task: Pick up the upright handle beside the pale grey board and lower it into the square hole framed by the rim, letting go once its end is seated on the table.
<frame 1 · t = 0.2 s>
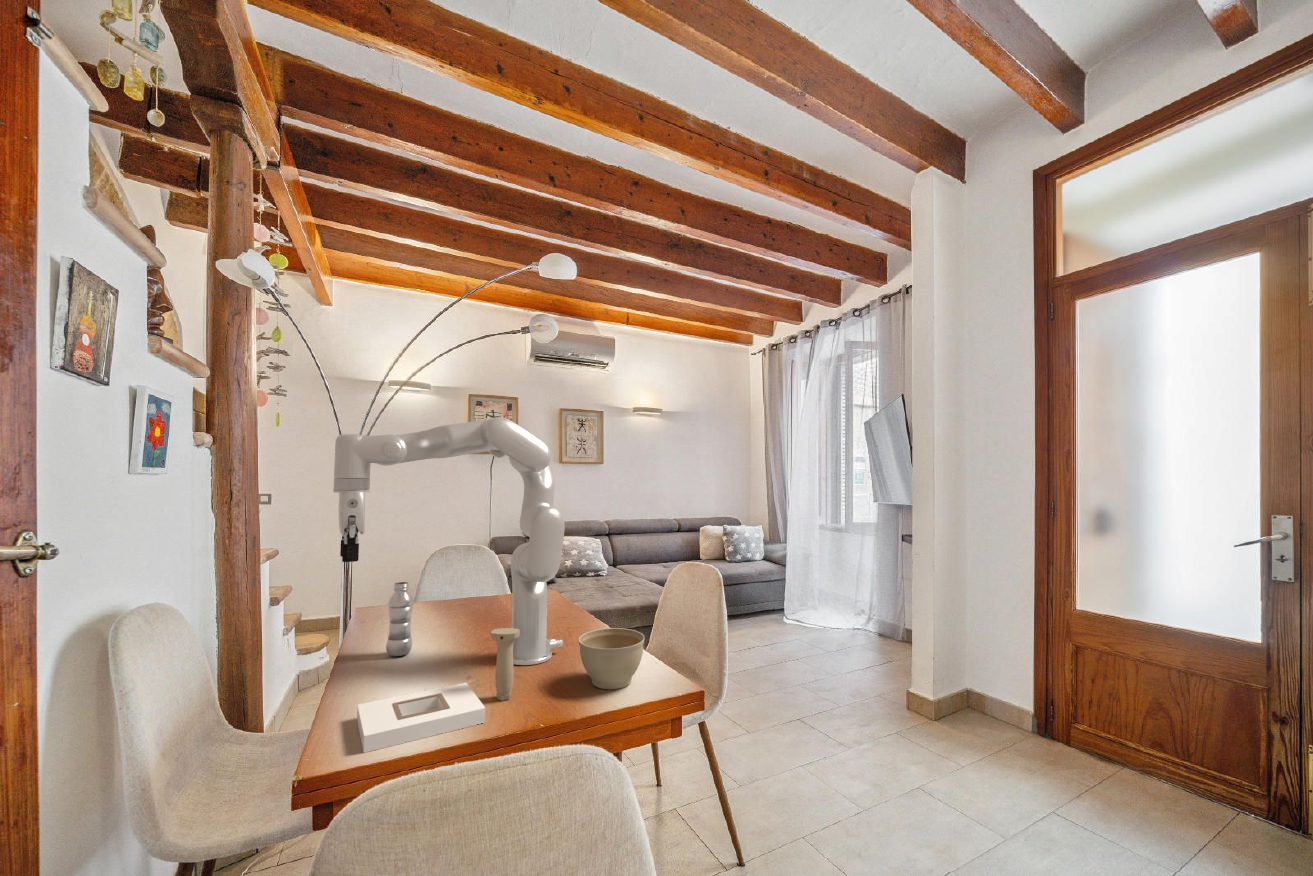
hand: (349, 558, 127), 31 cm above the table, tool pointing down, fingers open, 9 cm apart
handle: (504, 699, 122), on the table
planter bowl: (611, 683, 132), on the table
socket board: (420, 721, 111), on the table
plastic bottle: (398, 656, 151), on the table
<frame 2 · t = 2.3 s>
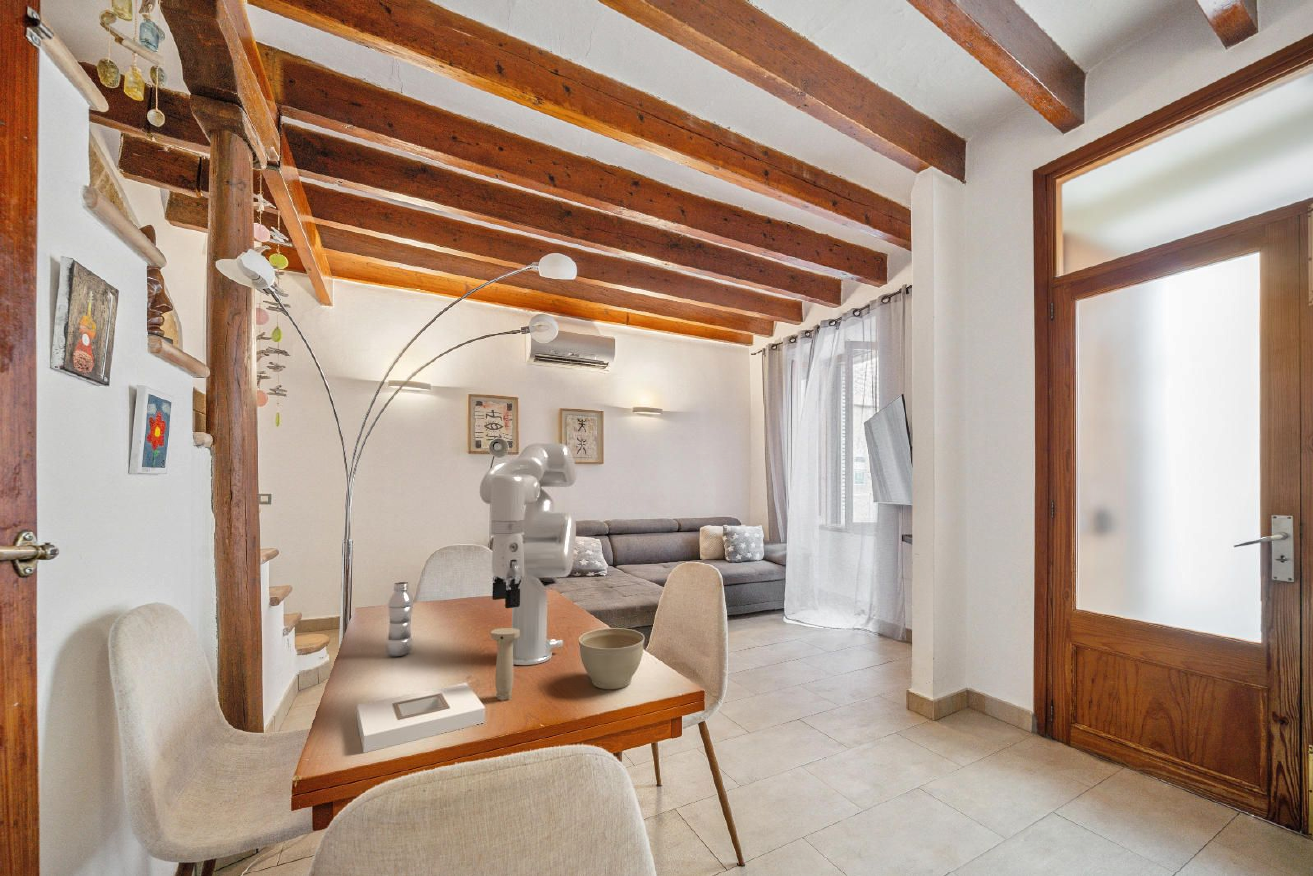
hand: (505, 603, 124), 21 cm above the table, tool pointing down, fingers open, 9 cm apart
nothing on the table moved.
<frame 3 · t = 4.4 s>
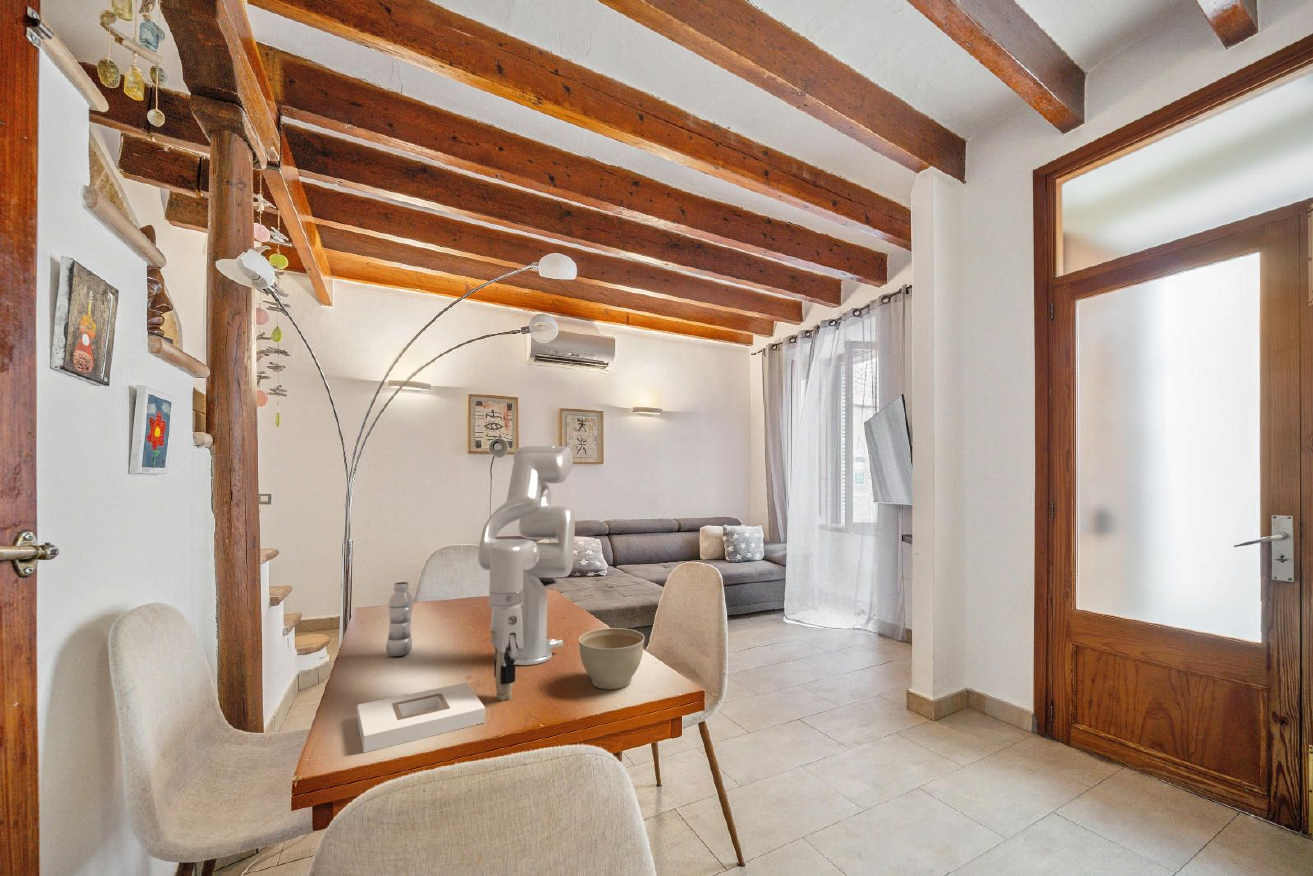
hand: (504, 679, 123), 4 cm above the table, tool pointing down, fingers closed on handle, 4 cm apart
handle: (504, 699, 122), on the table, touching gripper
everything else where it was.
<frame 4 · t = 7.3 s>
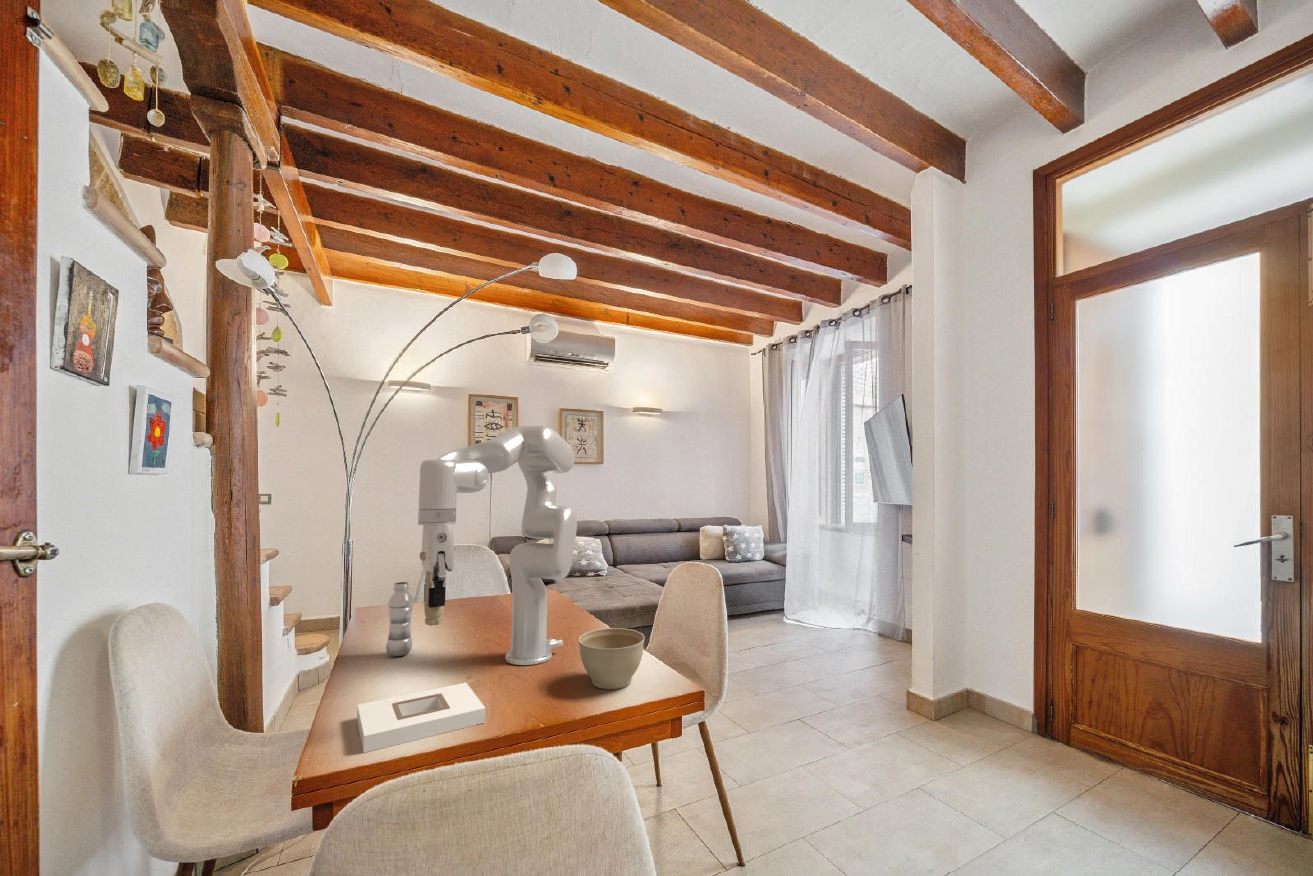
hand: (434, 603, 114), 24 cm above the table, tool pointing down, fingers closed on handle, 4 cm apart
handle: (433, 625, 113), point 19 cm above the table, touching gripper
everything else where it was.
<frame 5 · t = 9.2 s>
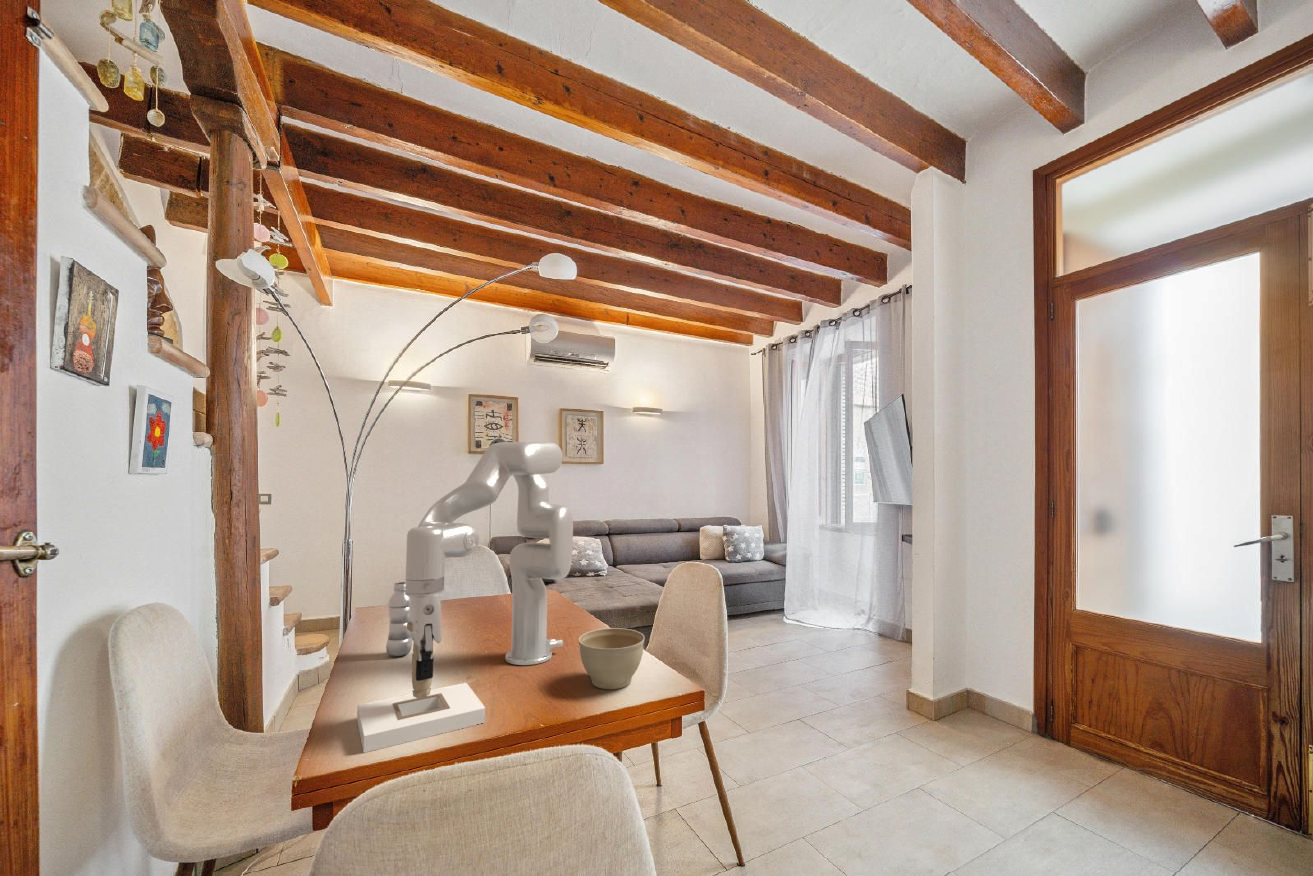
hand: (422, 674, 112), 9 cm above the table, tool pointing down, fingers closed on handle, 4 cm apart
handle: (421, 696, 111), point 5 cm above the table, touching gripper
everything else where it was.
when the fingers open (5 cm above the table, at t = 10.5 s): handle stays where it is, resting in socket board.
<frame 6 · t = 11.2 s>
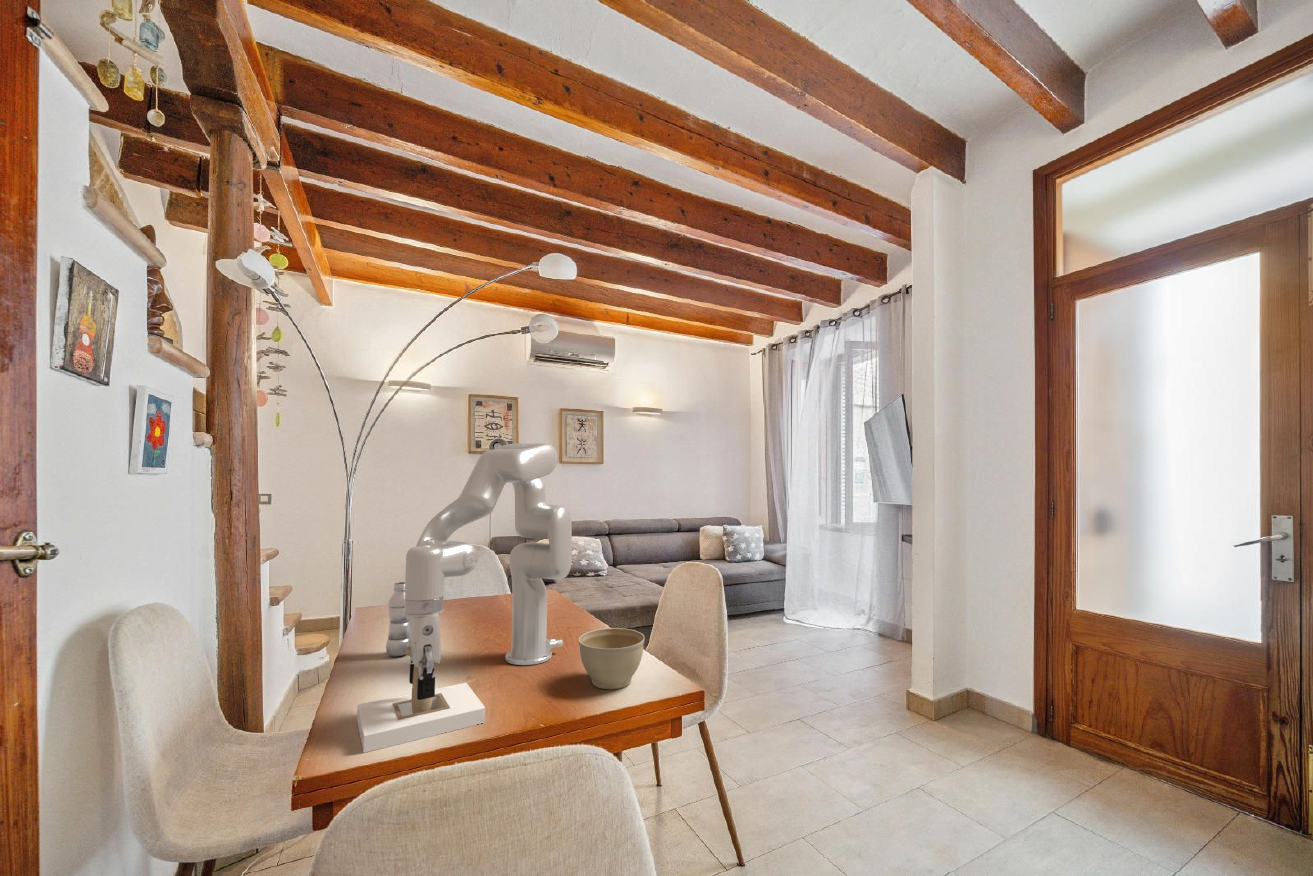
hand: (421, 689, 111), 6 cm above the table, tool pointing down, fingers open, 9 cm apart
handle: (421, 722, 111), resting in socket board
everything else where it was.
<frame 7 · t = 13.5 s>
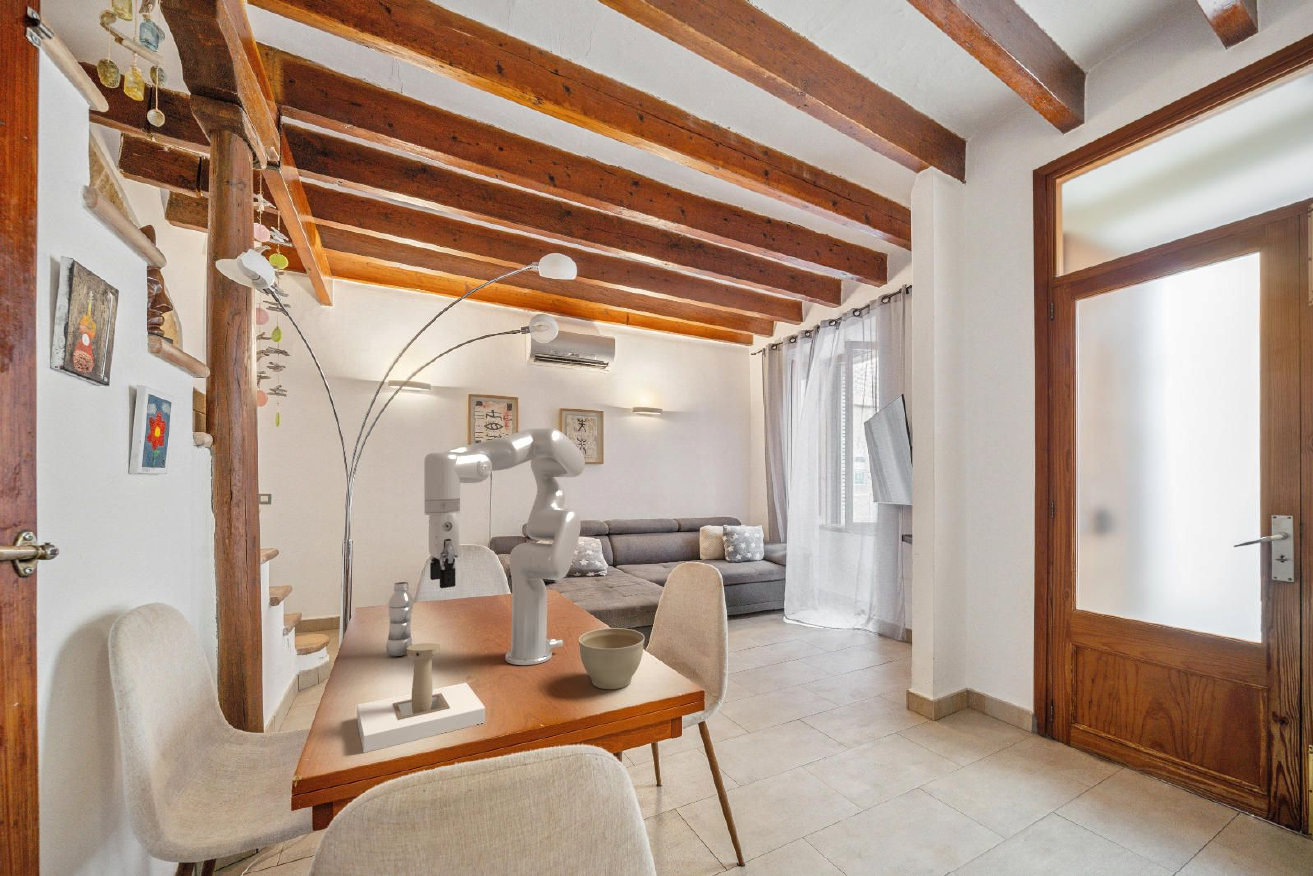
hand: (442, 583, 121), 26 cm above the table, tool pointing down, fingers open, 9 cm apart
nothing on the table moved.
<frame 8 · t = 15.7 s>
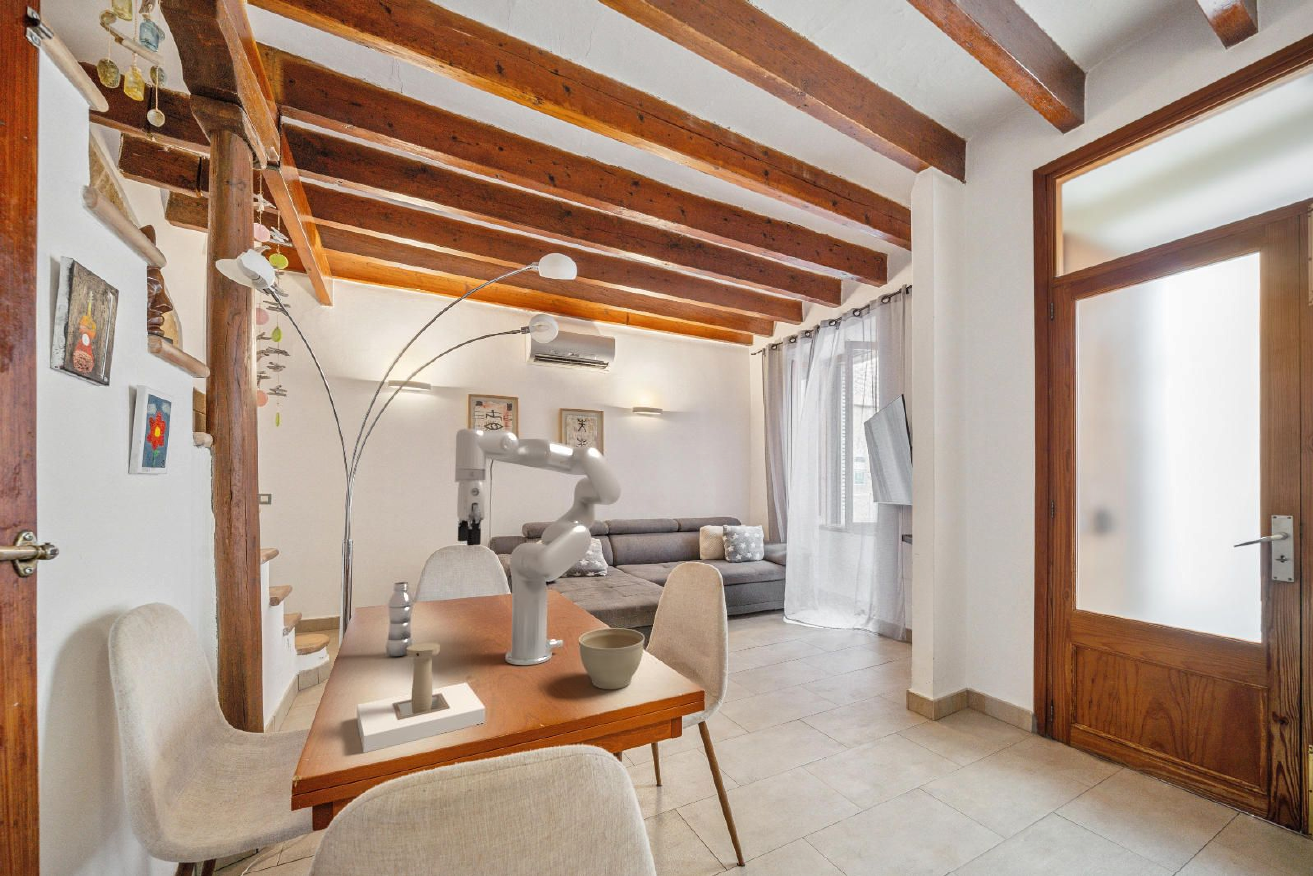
hand: (468, 542, 138), 33 cm above the table, tool pointing down, fingers open, 9 cm apart
nothing on the table moved.
at the end: handle 0.2 cm off-centre on the socket board, point 0.0 cm above the socket board's base; handle tilted 0°; the gripper is holding nothing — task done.
